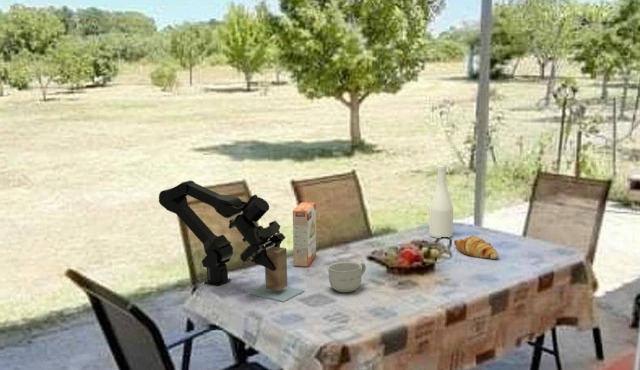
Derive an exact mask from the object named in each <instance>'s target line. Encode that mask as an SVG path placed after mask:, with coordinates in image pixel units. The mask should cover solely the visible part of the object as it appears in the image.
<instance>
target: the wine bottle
mask: <svg viewBox="0 0 640 370" xmlns="http://www.w3.org/2000/svg"><path fill="white" fill-rule="evenodd" d="M453 224H454V206H453V203H452V200H451V197H450V193H449V191H448V187H447V164H446V163H439V164H437V184H436V188H435V191H434V193H433V196H432V199H431V201H430V205H429V225H428V228H429V230H428V232H429V236H430V237H432V238H436V239H442V238H441V237H448V238H451V237H452V236H453V233H454V232H453V229H454V225H453ZM448 238H447V239H448Z"/></svg>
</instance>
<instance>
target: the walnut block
mask: <svg viewBox="0 0 640 370" xmlns="http://www.w3.org/2000/svg"><path fill="white" fill-rule="evenodd" d="M266 252H267V256H268V257H269V259H270V260H271V262H272V263H273V264H274V266H275V268H276V270H275V271H272V270H270V269H268V268H266V267H264V272H265V273H264V275H265V285H266V288H267V289H272V290H277V291H280V290H281V289H283V288H285V287H286V286H288V264H287V263H288V262H287V261H288V260H287V257H288V256H287V255H288V254H287V248H286V247H281V246H280V247H274V246H273V247H271V248H269V249H266Z"/></svg>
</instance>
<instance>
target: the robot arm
mask: <svg viewBox="0 0 640 370" xmlns="http://www.w3.org/2000/svg"><path fill="white" fill-rule="evenodd" d="M187 196H188V197H191V198H193V199H195V200H197V201H200V202H202V203H204V204H206V205H208V206H210V207H212V208H213V209H214V210H215V212H216V213H218V214H219V215H220V216H222V217H223V218H225V219H229V218H232V217H234V218H232V219H230V220H229V221H228V222H229V224H228V228H229V230H231V229H234V228H236V230H237V231H238V232H239V233H240V235H241V236H242V237H243V238H242V240H241V241H242V242H243V243H245V242H247V243H248V246H247V247H246V248H245V249H244V250H243V251H242V252H241V253H240V255H239V258H240V260H241V261H242V263H244V264H246V263H247V262H249V261H250V262H251V263H254V264H257V265H259V266H262V267H264V268H265V267H266V268H268V269H270V270H272V271H275V270H276V268H275V266H274V264H273V263H272V262H271V260H270V259H269V257H268V256H267V252H266V250H267V249H269V248H271V247H273V246H274V247H280V248H281V244H282V242H283V241H284V240H285V239H286V236H285V235H284V234H283V232H280V229H281V225H280V224H279V223H278V222H277V221H276V220H273V221H271V222H269V223H268V226H266V227H263V225H257V224H256V222H259V221H260V220H261V219H262V218H263V217H264V216H265V215H266V213H267V212H268V211H269V210H270V205H269V203H268V201H267V200H265V199H263V198H262V197H260V196H258V195H257V194H252V195H251V196H250V197H249V199H248V200H247V201H243V200H242V199H241V198H239V197H237V196H233V195H227V194H226V195H225V194H220V193H219V192H216V191H213V190H211V189H209V188H207V187H204V186H202V185H201V184H198V183H197V182H195V181H194V180H191V179H190V180H187V181H183V182H180V184H178V185H175V186H174V187H171V188H167V189H164V190H161V191H160V192H159V194H158V202H159V204H160V206H161V207H163V208H164V210H166V211H169V212H170V213H173V214H175V215H177V216H178V218H179V219H180V220H181V221H182V222H183V223H184V224H185V225H186V227H188V229H189V230H190V231H191V233H193V235H194V236H195V237H196V239H198V240H199V241H200V242H201V244H202V246H203V249H204V254H205V255H206V256H204V258H202V260H201V264H202V266H203V267H202V268H206V273H207V274H206V276H207V277H206V278H207V280H204V281H203V282H204V283H205V284H208V285H212V286H216V287H219V286H222V285H224V284H226V283H228V282H231V278H229V276H228V275H229V272H228V270H229V269H228V265H227V264H226V263H229V262H231V258H232V256H233V255H234V247H233V246H232V242H231V241H229V240H228V238H227V237H226V236H225V235H224V234H221V235H216V234H214V232H213V231H212V230H211V228H209V227H208V225H207V224H206V223H205V222H204V221H203V220H202V219H201V217H199V216H198V214H197V213H196V212H195V211H194V210H193V209H192V208H191V207H190V205H189V204H188V198H187ZM250 258H252V259H250Z"/></svg>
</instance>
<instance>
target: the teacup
mask: <svg viewBox="0 0 640 370" xmlns="http://www.w3.org/2000/svg"><path fill="white" fill-rule="evenodd" d="M327 270H328V282H329V285H330V287H331V289H332V288H333V289H334V290H335V291H336V292H339V293H351V292H354V291H355V290H357V288H359V287H360V285H361V284H362V276H363V275H364V274H365V272H366V270H367V267H366V263H365V262H362V261H359V262H353V261H340V262H335V263H331V264H330V265H328V266H327Z"/></svg>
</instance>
